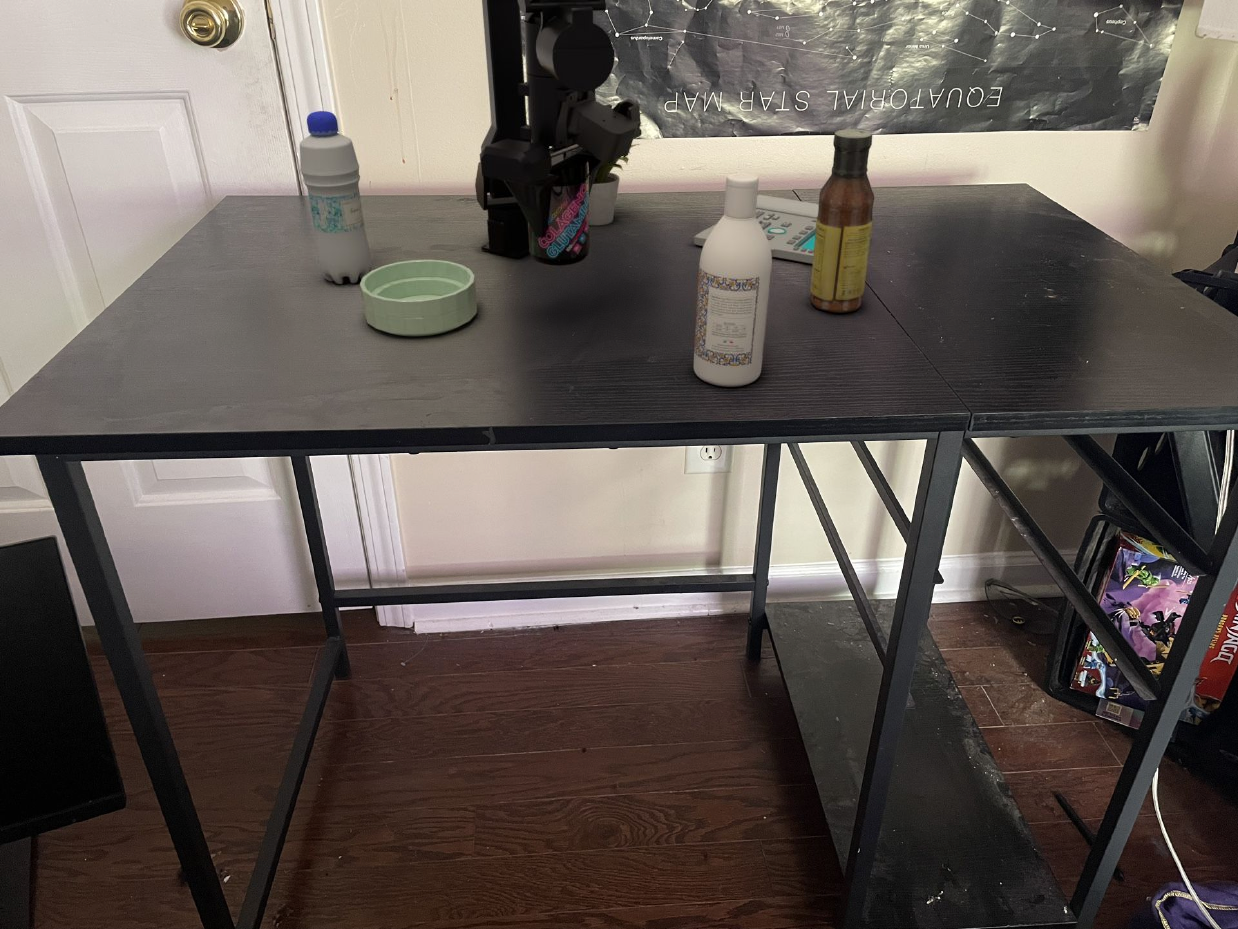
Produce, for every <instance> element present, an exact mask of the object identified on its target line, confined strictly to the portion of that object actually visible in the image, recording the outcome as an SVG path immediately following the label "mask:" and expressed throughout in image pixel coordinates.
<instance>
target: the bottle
mask: <svg viewBox="0 0 1238 929" xmlns="http://www.w3.org/2000/svg"><path fill="white" fill-rule="evenodd" d="M306 126H307V130H308V133H309V135H308V136H306V137H305V138H303V139H301V141H299V157H300V158H299V162H300V165H299V166H300V167H299V168H300V170H299V171H300V173H301V175H302V182H303V185H305V187H306V189H307V194H308V199H309V205H310V212H311V216H312V217H311V218H312V222H313V228H314V233H315V241H316V242H315V243H316V253H317V259H318V265H319V268H320V271H321V273H322V275H323V277H324V279H326V280H327V281H328V282H335V283H336V284H337V285H343V283H344V277H348V278H349V282H350V283H351V284H356V283H357V282H358V280H359V278H360V280H362V278H363V277H364V276H365V275H367V274H368V273H369V272H370V271H371V264H372V256H371V251H370V245H369V242H368V237H367V232H366V228H365V222H364V221H365V220H364V212H363V207H362V206H363V205H362V199H361V192H360V187H359V182H360V180H361V175H360V164H359V161H358V157H357V155H356V151H355V147H354V144H353V140H352V139H351V138H350V137H348V136H346V135H344V134H342V133H339V131H340V130H339V123H338V119H337V116H336V115H335V113H333V112H332V111H331V112H330V111H327V110H317V111H313V112H311V113H309V114H308V115H307V117H306Z"/></svg>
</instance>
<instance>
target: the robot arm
mask: <svg viewBox="0 0 1238 929" xmlns="http://www.w3.org/2000/svg"><path fill="white" fill-rule="evenodd" d="M606 3H607V1H606V0H481V6H482V19H483V29H484V31H483V34H484V46H485V57H486V69H487V71H486V72H487V83H488V96H489V98H488V99H489V110H490V122H491V124H490V127H489V129H488V130H487V133H486V135H485V137H484V139H483V141H482V143H481V146H480V153H479V161H478V164H477V170H476V177H475V182H474V188H475V195H476V201H477V203H478V205H479V206H480V208H481V209H482V211H487V219H486V225H487V226H486V227H487V237H488V238H487V239H488V240H487V241H488V242H487V243H484V244H481V246H480V248H481V250H482V251H485V252H490V253H494V254H498V255H502V256H506V257H509V258H510V257H511V258H514V259H520V258H522V257H525V256H526V255H529V254H530V252H529V236H528V223H529V225H530V227H531V228H532V230H533V232H534V234H535V236H537V237H540V238H544V237H545V236H546V230H547V216H548V192H549V188H550V187H551V186H552V185H553V184H554V183H555V182H556V180H557V179H558V178H559V176H558V175H552V174H549V172H550V170H551V168H552V158H553V157H556V156H558V155H561V154H563V153H566V152H569V151H570V152H576V153H580V154H583V155H585V156H587V157H588V159H589V196H590V192H591V189H592V185H593V182H594V179H595V176H596V174H597V171H598V169H599V167H600V166H601V165H603V164H604V163H612V162H614V161H615V160H616V159H617V158H620V157H628V156H629V155H630V153H629V152H630V151H631V149H632V147H631V145H633V141H634V140H635V139H637V138H640V137H641V136H642V134H643V131H642V129H641V126H642V122H641V120H642V119H641V114H640V113H641V110H640V105H639V104H638V103H637V102H635V101H633V100H632V99H630V98H627V99H624V100H622V101H619V102H618V103H617V104H616V105H615V106H613V105H612V104H611V103H608V104H603V103H601V102H599V101H597V97H596V89H598V88H600V87H602V85H603V84H604V83H605V82H606V81H607V80H608V79H609V77H610V76H611V73H612V71H613V68H614V66H615V56H616V55H615V49H614V47H613V42H612V40H611V38H610V36H609V35H608V33H607V32H606V31H605V29H603V27H601V26H599V25H598V24H596V23H594V12H603V11H606V9H607V4H606ZM521 12H522V13H524V20H523V29H524V51H525V52H523V37H522V19H521V18H522V17H521ZM524 53H525V68H524ZM524 69H525V70H526V71H525V70H524ZM525 74H526V77H525ZM525 78H526V81H525ZM526 98H527V100H526ZM526 101H527V102H526ZM527 120H528V121H527Z"/></svg>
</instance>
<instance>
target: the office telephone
mask: <svg viewBox="0 0 1238 929" xmlns="http://www.w3.org/2000/svg"><path fill="white" fill-rule="evenodd" d="M818 208H819V203H815V202H814V203H813V202H807V201H802V200H795V199H789V198H783V197H777V196H770V195H764V194H757V204H756V213H755V217H756V218H757V220H758V222H759V224H760V226H761V227H762V229H763V231H764V233H765V235H766V237H767V240H768V242H769V245H770V249H771V255H772V258H779V259H785V260H790V261H797V262H800V263H801V262H802V263H807V264H811V265H813V255H814V244H815V233H816V221H817V217H818ZM717 223H718V222H716V223H714V224H713V225H712V226H710V227H708V228H706V229H704V230H702V231H700V232H699V233H697V234H696V235H694V236H693V245H696V246H701V247H703V246H704V244H705V241H706V240H707V238H708V236H709V234H710V233H711V231H712V230H713V229H714V227H715V226H716V225H717Z"/></svg>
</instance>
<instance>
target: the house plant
mask: <svg viewBox="0 0 1238 929" xmlns="http://www.w3.org/2000/svg"><path fill="white" fill-rule="evenodd" d="M645 113H647V112H640V115H642V114H645ZM643 126H644V125H642V124H641V127H643ZM639 145H641V143H636V144H632V145H631V148H633V147H635V146H639ZM629 154H631V152H630V151H629ZM619 160H620V161H623V162H624V163H625V164H628V162H629V157H628V156H626V157H623V156H622V157H620V158H617V159H616V160H615V161H614V162H612V163H604V164H603V165H601V166H600V167H599V169H598V171H597V174H596V176H595V179H594V182H593V185H592V189H591V192H590V196H589V226H603V225H604V226H605V225H608V224H611V223H612V222H613V221H614V216H615V215H614V214H615V210H616V203H617V196H618V191H619V185H620V176H619V175H618V174H616V173H614V172H611V171H612V170H613V169H614V168H618V169H621V170H622V171H624V169H623V166H622V165H621V164H619V163H618V162H619Z"/></svg>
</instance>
